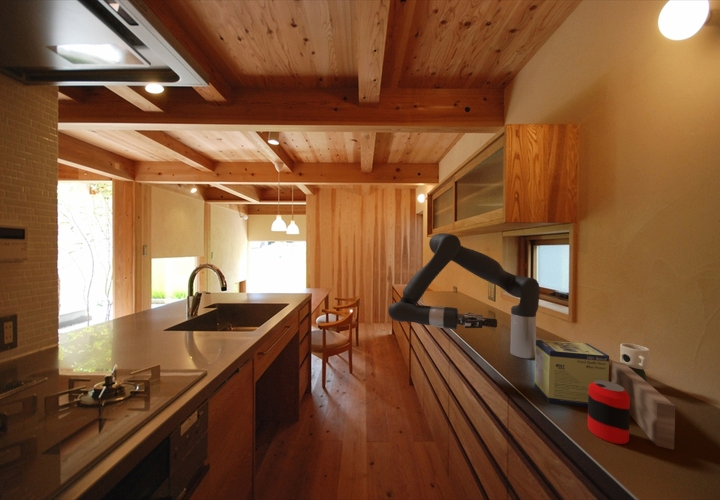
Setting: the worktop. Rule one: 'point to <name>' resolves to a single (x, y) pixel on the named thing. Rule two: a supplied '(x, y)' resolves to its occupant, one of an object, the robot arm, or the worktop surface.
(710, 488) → the worktop surface
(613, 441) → the soda can
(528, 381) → the worktop surface
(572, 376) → the protein box
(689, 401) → the worktop surface
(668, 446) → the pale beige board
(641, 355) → the character mug
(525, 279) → the robot arm
